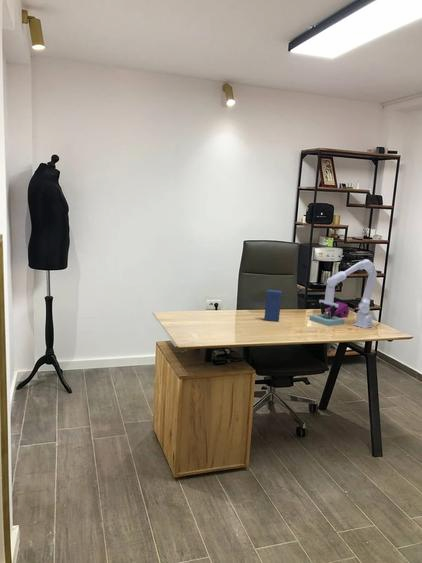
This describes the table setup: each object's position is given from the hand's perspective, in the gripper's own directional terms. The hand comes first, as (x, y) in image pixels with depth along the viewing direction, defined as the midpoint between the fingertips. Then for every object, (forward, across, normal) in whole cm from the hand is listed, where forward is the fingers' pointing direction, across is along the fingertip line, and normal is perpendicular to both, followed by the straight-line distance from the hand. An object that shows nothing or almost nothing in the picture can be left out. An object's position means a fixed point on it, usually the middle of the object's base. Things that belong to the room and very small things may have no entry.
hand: (327, 315), depth 311 cm
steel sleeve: (+4, 0, 0) cm, 4 cm away
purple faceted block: (+5, -8, +18) cm, 21 cm away
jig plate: (+4, 0, 0) cm, 4 cm away
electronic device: (+5, -18, -34) cm, 39 cm away
